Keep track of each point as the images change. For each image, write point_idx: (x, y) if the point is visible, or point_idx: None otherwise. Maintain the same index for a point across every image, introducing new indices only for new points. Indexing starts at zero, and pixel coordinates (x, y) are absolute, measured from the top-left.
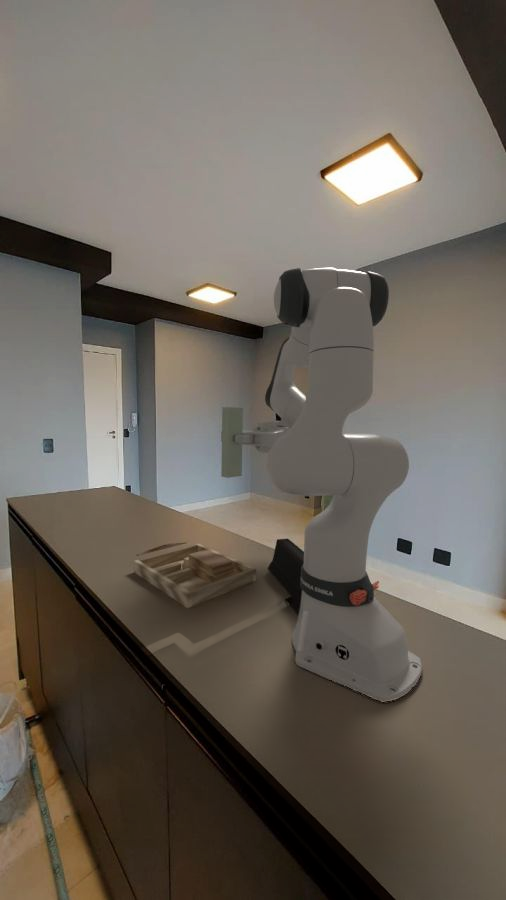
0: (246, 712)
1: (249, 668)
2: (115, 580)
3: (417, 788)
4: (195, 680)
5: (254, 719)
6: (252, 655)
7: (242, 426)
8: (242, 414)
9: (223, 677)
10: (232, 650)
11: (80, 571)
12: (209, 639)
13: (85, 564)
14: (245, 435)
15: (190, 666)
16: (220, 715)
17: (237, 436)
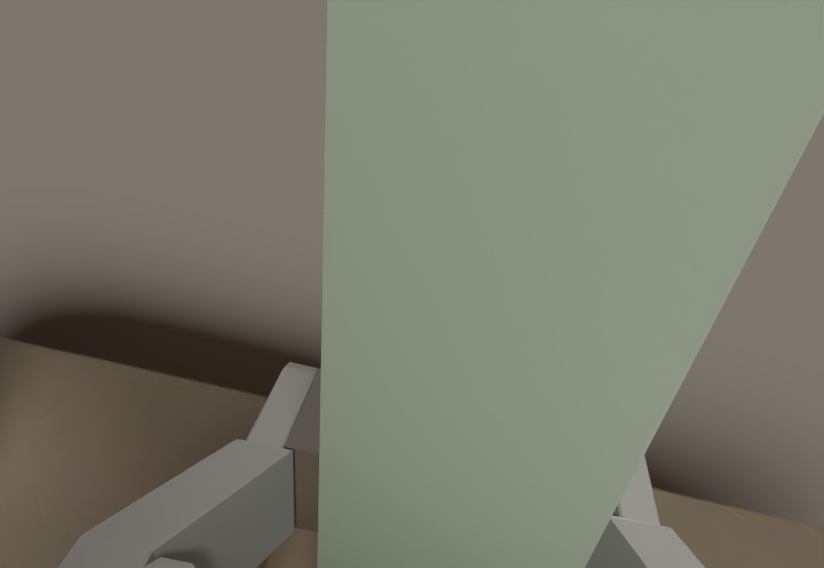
0: (44, 374)
1: (60, 440)
2: None
3: None
4: (150, 383)
5: (28, 371)
6: (62, 470)
7: (323, 441)
8: (329, 23)
9: (104, 405)
10: (112, 462)
11: (708, 505)
12: (178, 465)
13: (762, 541)
14: (169, 482)
15: (175, 398)
16: (83, 358)
17: (283, 377)
